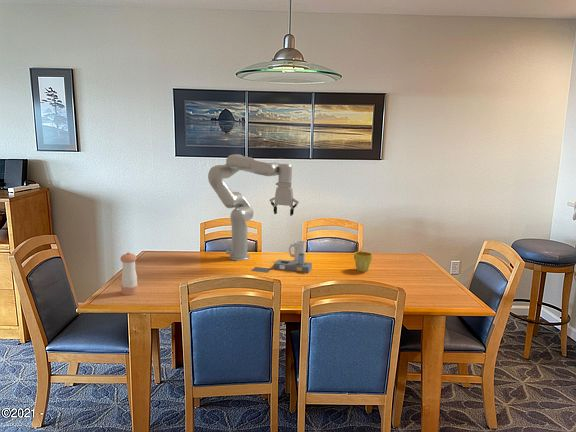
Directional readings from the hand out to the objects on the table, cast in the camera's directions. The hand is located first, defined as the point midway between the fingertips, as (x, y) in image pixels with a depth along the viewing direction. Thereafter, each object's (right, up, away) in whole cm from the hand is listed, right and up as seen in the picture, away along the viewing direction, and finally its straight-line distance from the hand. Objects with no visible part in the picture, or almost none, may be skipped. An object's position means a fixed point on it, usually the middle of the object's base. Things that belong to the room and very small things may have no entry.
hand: (283, 214), depth 243 cm
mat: (-12, -31, -9) cm, 35 cm away
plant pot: (+45, -32, -3) cm, 56 cm away
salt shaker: (-71, -37, -48) cm, 93 cm away
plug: (+10, -32, -7) cm, 34 cm away
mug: (+8, -29, +11) cm, 32 cm away
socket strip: (+5, -31, -5) cm, 32 cm away
